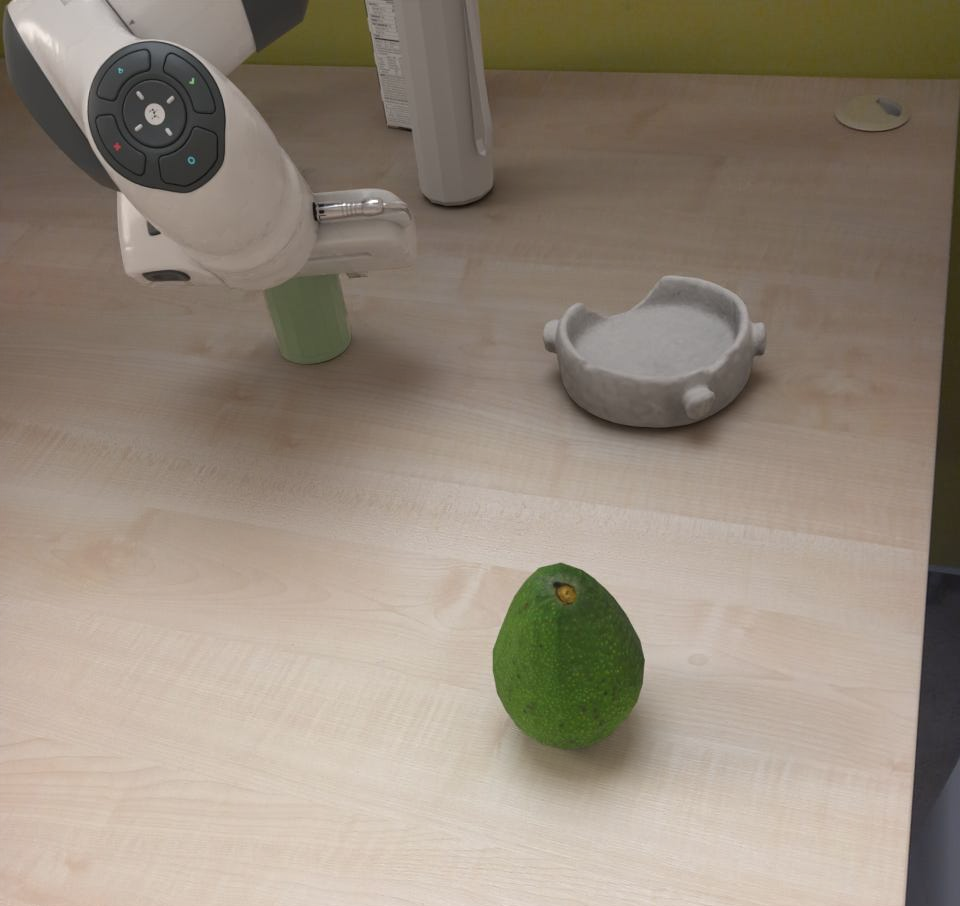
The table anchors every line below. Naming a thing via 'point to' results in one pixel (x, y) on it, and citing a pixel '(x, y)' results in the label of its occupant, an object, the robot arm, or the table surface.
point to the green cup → (309, 318)
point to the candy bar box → (388, 62)
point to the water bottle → (447, 98)
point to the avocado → (567, 659)
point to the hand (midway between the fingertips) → (299, 272)
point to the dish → (658, 354)
